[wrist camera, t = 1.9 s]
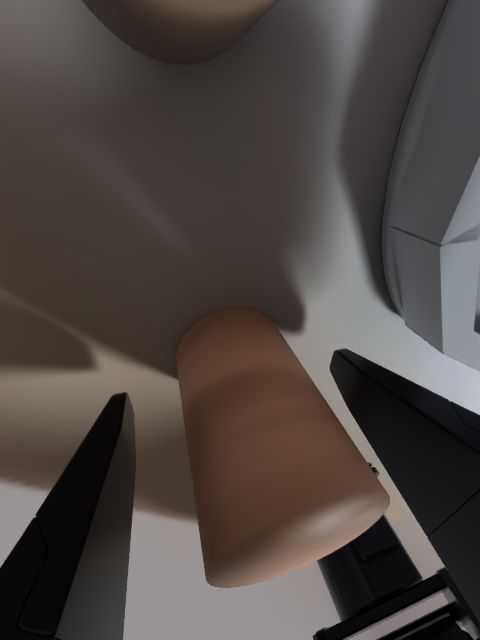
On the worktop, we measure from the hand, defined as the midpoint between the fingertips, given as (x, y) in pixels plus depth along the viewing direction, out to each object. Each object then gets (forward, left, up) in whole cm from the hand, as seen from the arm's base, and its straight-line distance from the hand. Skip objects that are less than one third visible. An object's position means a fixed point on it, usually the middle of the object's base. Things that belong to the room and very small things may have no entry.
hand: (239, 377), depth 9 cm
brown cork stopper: (0, 0, -1) cm, 1 cm away
